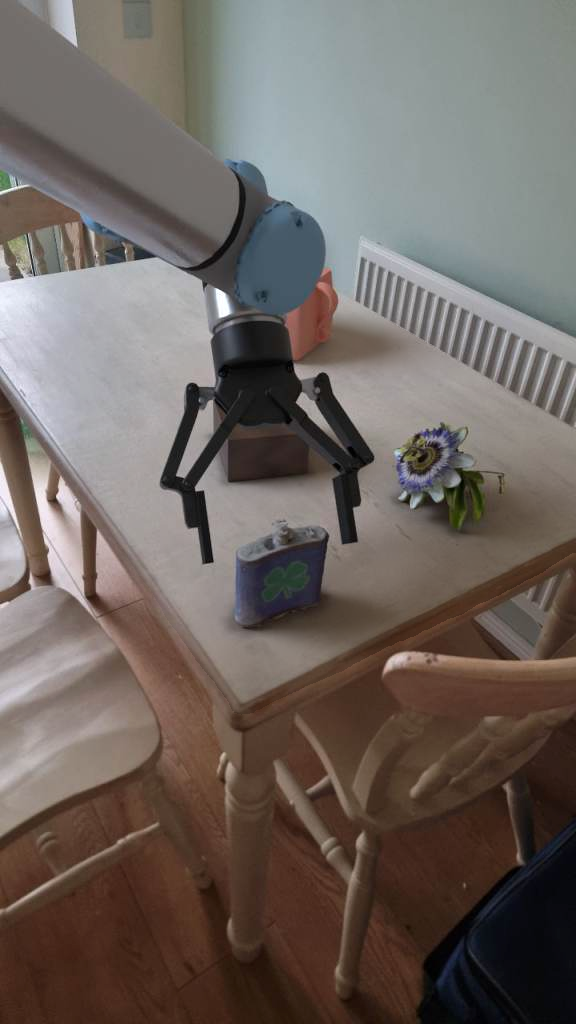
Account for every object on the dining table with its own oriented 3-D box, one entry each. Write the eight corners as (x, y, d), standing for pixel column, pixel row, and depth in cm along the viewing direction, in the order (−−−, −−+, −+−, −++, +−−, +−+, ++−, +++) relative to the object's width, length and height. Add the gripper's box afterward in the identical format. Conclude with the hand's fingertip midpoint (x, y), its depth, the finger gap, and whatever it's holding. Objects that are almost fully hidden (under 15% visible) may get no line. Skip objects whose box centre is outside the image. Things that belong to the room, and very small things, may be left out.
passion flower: (398, 534, 86) (370, 442, 84) (474, 505, 88) (448, 414, 86) (440, 547, 75) (408, 441, 73) (525, 512, 77) (496, 409, 75)
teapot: (181, 353, 108) (176, 266, 100) (246, 311, 122) (247, 231, 113) (292, 390, 101) (299, 299, 93) (349, 341, 115) (359, 258, 106)
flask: (240, 632, 66) (242, 549, 59) (228, 611, 68) (229, 528, 61) (325, 603, 69) (336, 521, 62) (311, 584, 71) (320, 502, 64)
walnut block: (227, 482, 84) (227, 440, 80) (213, 436, 91) (212, 396, 87) (307, 473, 86) (311, 432, 82) (287, 429, 93) (289, 390, 89)
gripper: (359, 336, 72) (391, 538, 71) (115, 353, 67) (143, 573, 65) (385, 309, 65) (420, 532, 64) (113, 325, 59) (145, 571, 58)
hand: (280, 553), depth 64 cm, fingers open, 13 cm apart
